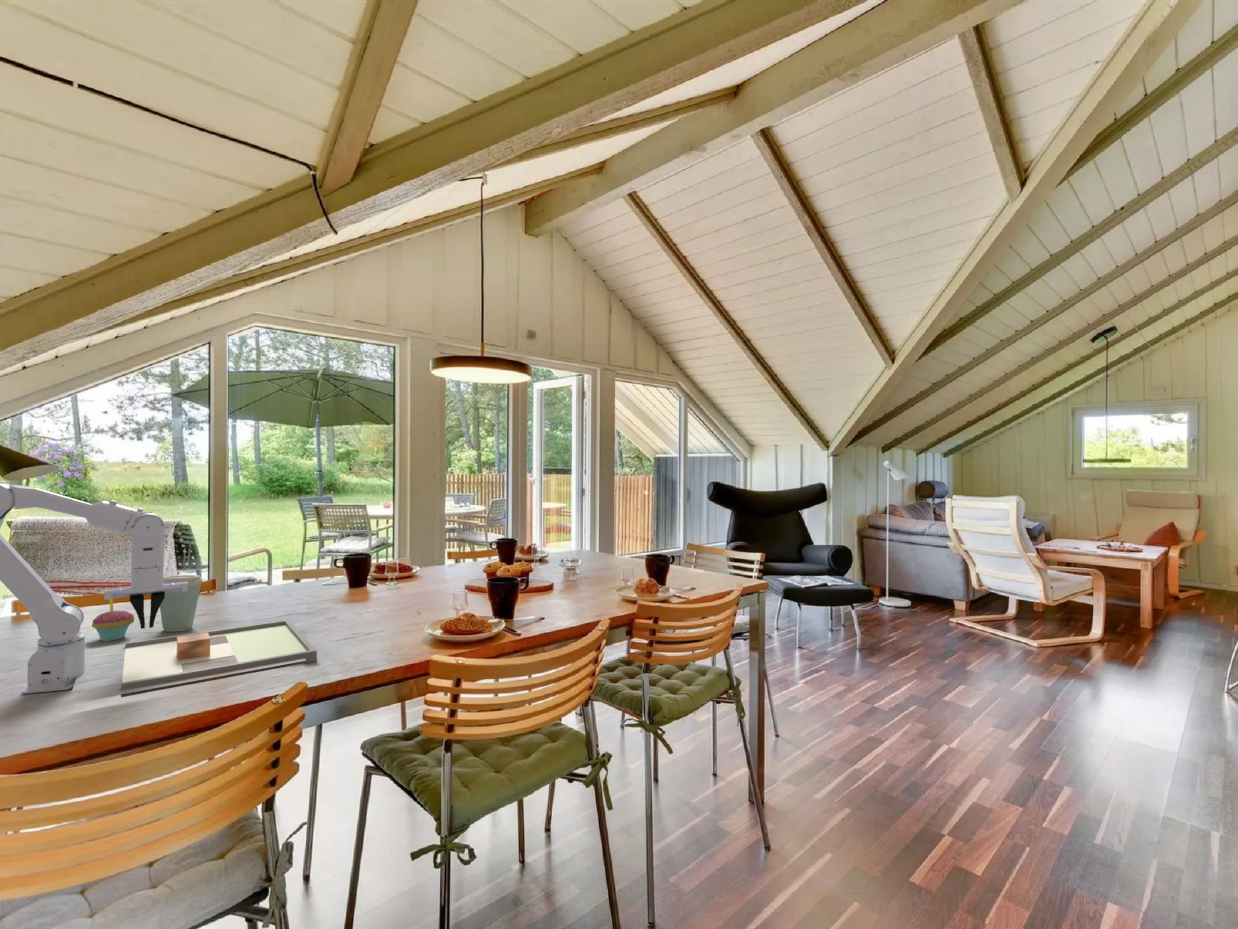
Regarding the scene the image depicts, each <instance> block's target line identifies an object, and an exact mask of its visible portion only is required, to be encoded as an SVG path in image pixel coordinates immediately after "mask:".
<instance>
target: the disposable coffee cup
mask: <svg viewBox="0 0 1238 929" xmlns="http://www.w3.org/2000/svg"><path fill="white" fill-rule="evenodd" d="M178 582H187V583H188V591H186V592H182V591H180V592H170V593H165V598H164V600H163V601H162V603H161V605H160V607H159V609H160V610H159V611H160V617H161V618H160V619H161V624H162V629H163V631H164V632H166V633H167V632H169V633H172V632H173V633H175V632H182V631H188V630H190V629H192V626H193V624H194V619H195V615H196V611H197V605H198V600H199V596H200V592H201V591H200V590H201V587H202V583H203V582H204V581H203V577H201V575H198V574H179V575H178V574H177V575H167V576H165V575H164V583H178Z"/></svg>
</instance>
